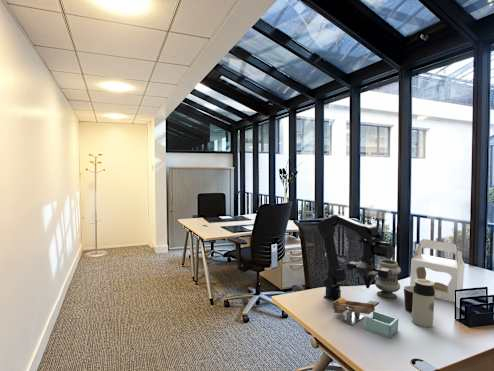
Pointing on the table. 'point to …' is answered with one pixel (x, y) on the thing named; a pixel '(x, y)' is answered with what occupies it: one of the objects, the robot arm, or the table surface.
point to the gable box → (438, 267)
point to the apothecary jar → (388, 279)
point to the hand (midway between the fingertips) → (367, 288)
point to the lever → (355, 307)
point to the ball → (342, 301)
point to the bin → (382, 324)
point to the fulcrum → (352, 317)
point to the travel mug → (423, 302)
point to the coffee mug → (408, 298)
